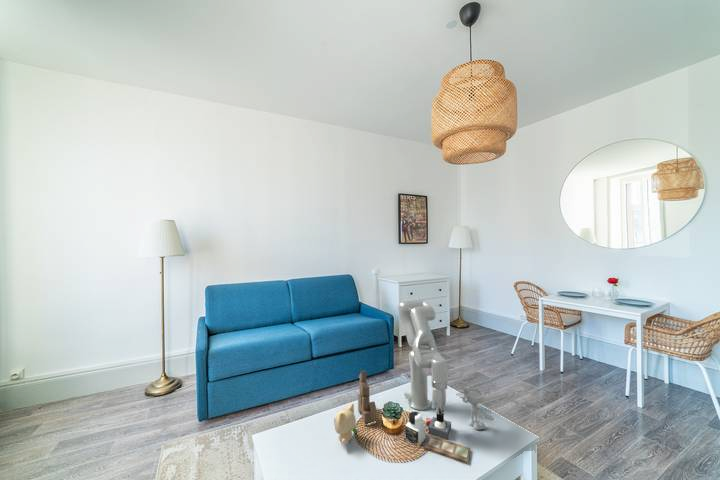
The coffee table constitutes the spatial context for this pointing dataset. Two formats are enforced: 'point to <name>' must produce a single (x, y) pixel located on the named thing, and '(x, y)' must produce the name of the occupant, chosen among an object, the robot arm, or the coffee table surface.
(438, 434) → the dome housing
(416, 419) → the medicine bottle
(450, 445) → the board
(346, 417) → the kitten
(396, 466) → the coffee table surface
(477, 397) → the cartoon character
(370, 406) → the wooden toy
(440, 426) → the dome
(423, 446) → the frame
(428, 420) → the red die
